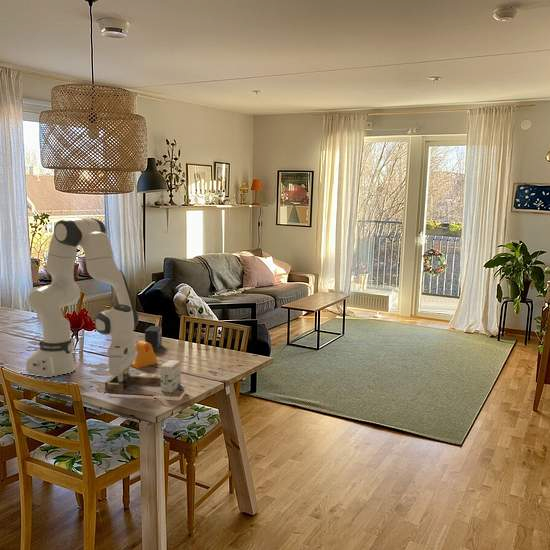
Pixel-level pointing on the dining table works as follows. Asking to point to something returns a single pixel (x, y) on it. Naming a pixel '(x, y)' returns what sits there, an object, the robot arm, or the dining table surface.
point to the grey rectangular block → (125, 378)
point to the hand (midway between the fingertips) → (123, 378)
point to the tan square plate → (146, 374)
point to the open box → (114, 386)
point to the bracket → (144, 355)
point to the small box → (154, 336)
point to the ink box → (170, 375)
